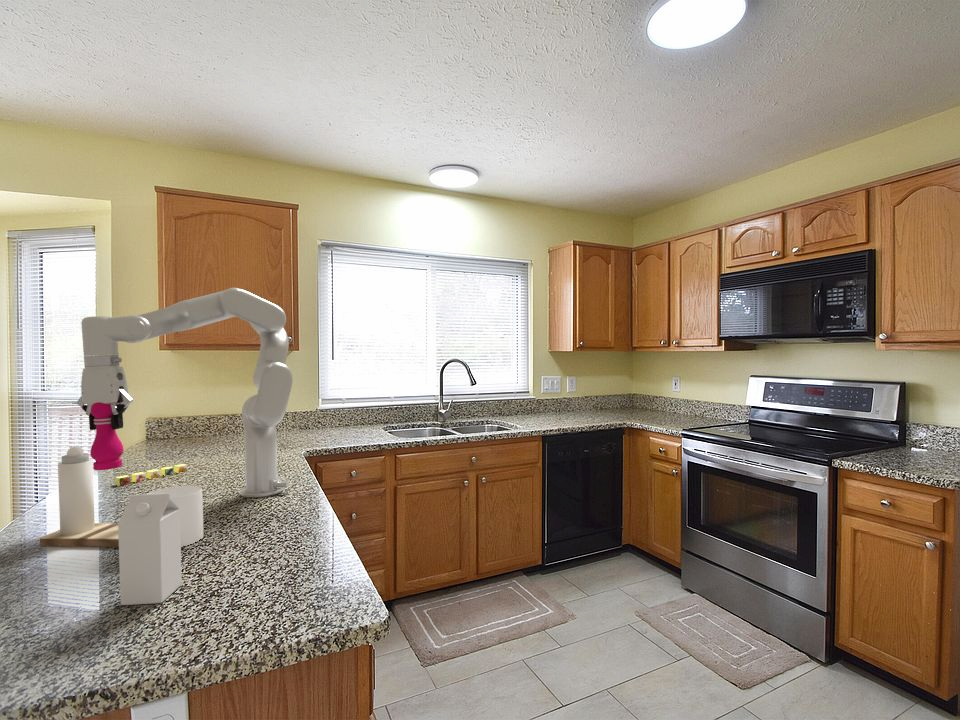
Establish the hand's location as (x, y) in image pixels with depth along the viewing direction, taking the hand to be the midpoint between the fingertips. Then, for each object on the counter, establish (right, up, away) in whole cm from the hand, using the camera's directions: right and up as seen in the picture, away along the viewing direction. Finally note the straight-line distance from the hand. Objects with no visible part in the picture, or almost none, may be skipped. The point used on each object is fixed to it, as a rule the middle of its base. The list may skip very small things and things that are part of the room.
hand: (106, 428), depth 135 cm
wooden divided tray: (+8, -25, -13) cm, 29 cm away
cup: (+28, -25, -15) cm, 41 cm away
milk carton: (+40, -26, -42) cm, 63 cm away
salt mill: (+2, -24, -12) cm, 27 cm away
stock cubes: (-16, -25, +46) cm, 55 cm away
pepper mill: (0, -11, 0) cm, 11 cm away
